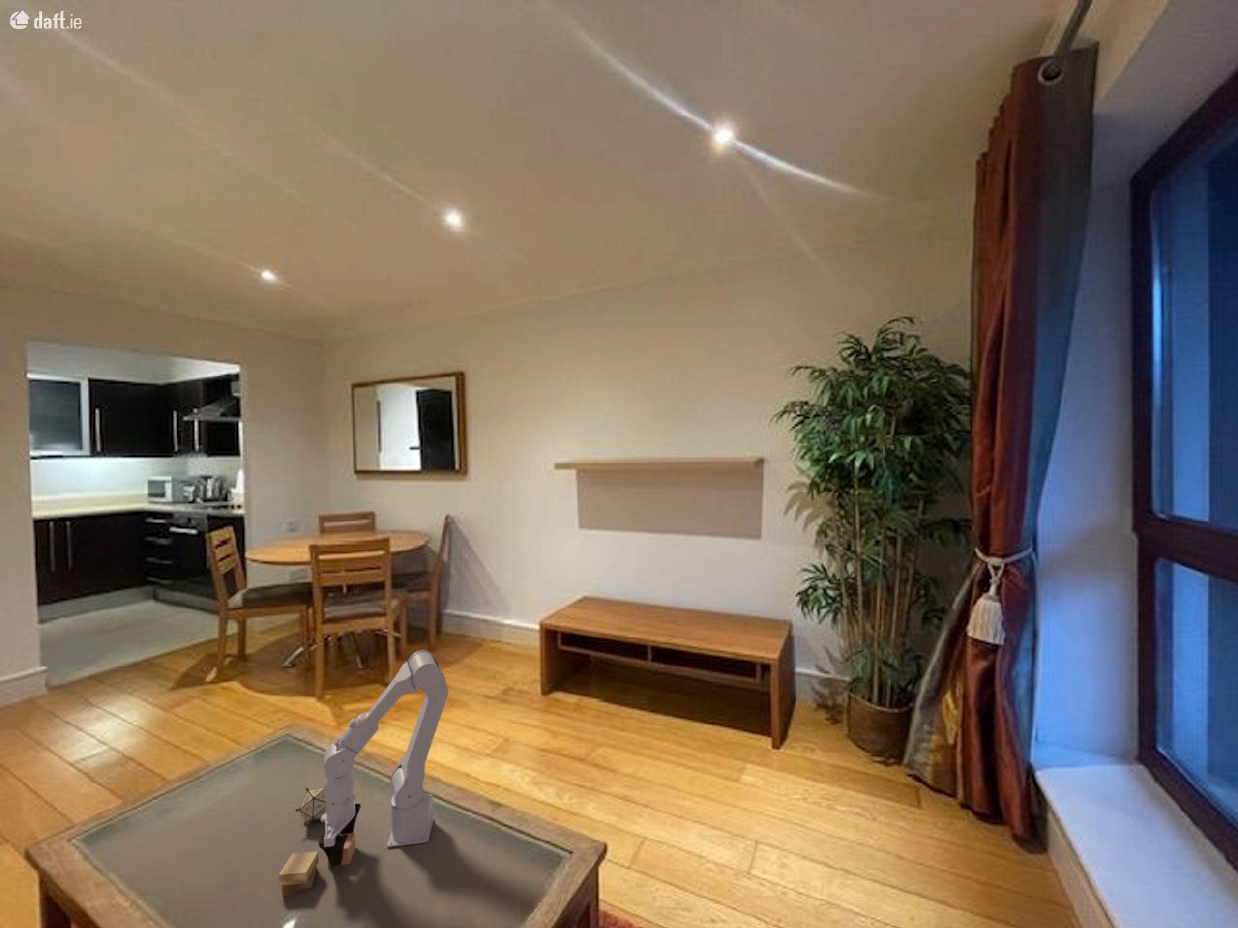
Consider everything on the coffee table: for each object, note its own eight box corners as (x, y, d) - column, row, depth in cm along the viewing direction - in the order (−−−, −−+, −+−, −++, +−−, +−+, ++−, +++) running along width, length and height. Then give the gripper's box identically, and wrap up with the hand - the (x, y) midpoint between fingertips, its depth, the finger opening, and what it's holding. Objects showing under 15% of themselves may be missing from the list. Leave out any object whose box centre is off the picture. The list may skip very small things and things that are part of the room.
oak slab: (318, 861, 117) (318, 851, 117) (306, 883, 111) (305, 872, 111) (293, 863, 116) (292, 853, 116) (279, 885, 111) (278, 874, 111)
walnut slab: (316, 869, 118) (316, 859, 118) (311, 890, 113) (311, 879, 112) (288, 877, 116) (288, 866, 116) (282, 897, 111) (282, 886, 110)
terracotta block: (355, 848, 123) (355, 832, 123) (349, 864, 119) (348, 847, 119) (335, 851, 122) (334, 835, 122) (327, 867, 118) (327, 850, 118)
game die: (319, 836, 131) (312, 824, 125) (292, 820, 133) (284, 807, 126) (346, 800, 138) (341, 786, 132) (320, 785, 140) (313, 771, 133)
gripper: (332, 777, 126) (334, 829, 127) (307, 821, 112) (310, 880, 113) (363, 773, 127) (365, 826, 128) (343, 817, 113) (345, 875, 114)
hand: (341, 851), depth 121 cm, fingers open, 7 cm apart
